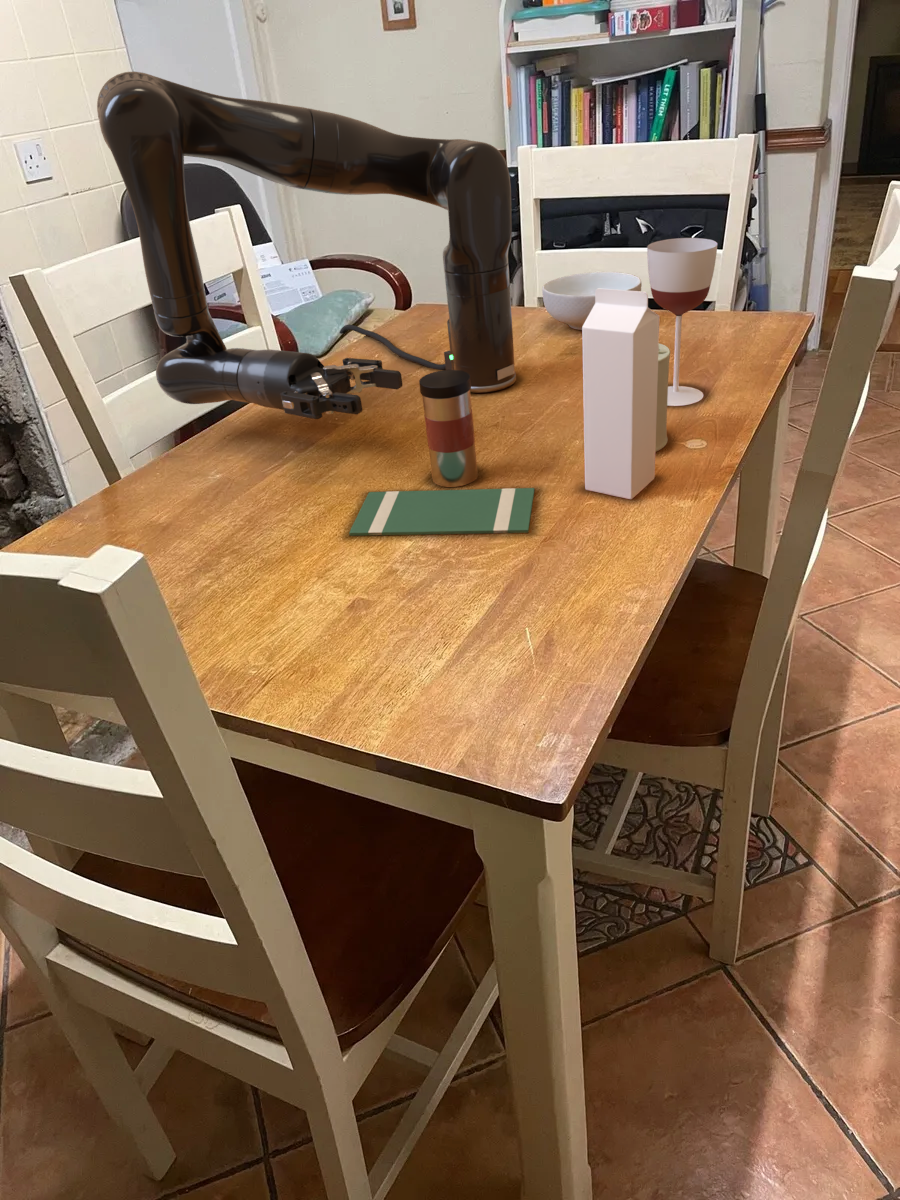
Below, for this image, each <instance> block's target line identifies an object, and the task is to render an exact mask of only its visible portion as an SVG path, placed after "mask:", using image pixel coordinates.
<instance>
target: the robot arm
mask: <svg viewBox="0 0 900 1200" xmlns="http://www.w3.org/2000/svg"><path fill="white" fill-rule="evenodd" d="M96 102H97V103H96V111H97V112H96V113H97V117H98V123H99V128H100V131H101V134H102V138H103V141H104V142H105V144H106V146H107V147H108V148H109V151H110V152H111V155H112V157H113V159H114V161H115V164H116V166H117V169H118V171H119V174H120V176H121V179H122V181H123V183H124V185H125V189H126V191H127V194H128V197H129V201H130V203H131V206H132V209H133V213H134V217H135V221H136V224H137V229H138V235H139V241H140V247H141V249H140V250H141V256H142V261H143V267H144V272H145V278H146V283H147V287H148V288H147V289H148V292H149V296H150V301H151V304H152V308H153V314H154V318H155V320H156V323H157V325H158V328H159V329H160V331H162V332H163V333H164V334H166V335H169V336H171V337H179V338H181V337H182V338H183V337H185V339H186V342H185V343H184V344H182V345H180V346H178V347H177V348H175V349H173V350H171V351H169V352H168V353H166V354H165V355H164V356H163V357H161V359H160V360H159V361H158V362H157V365H156V369H155V377H156V381H157V384H158V386H159V387H160V389H161V390H162V391H163V393H164V394H166V395H167V396H168V397H169V398H171V399H172V400H174V401H176V402H179V403H182V404H186V405H187V404H188V405H201V404H202V405H203V404H213V403H214V404H215V403H220V402H225V401H235V402H241V403H246V404H247V403H249V404H254V405H258V406H260V407H265V408H269V409H276V410H283V412H284V414H286V415H291V416H296V417H297V416H298V417H301V418H302V417H303V418H308V419H313V420H318V419H319V420H320V419H321V418H323V414H327V415H333V414H334V413H343V414H350V415H356V416H357V415H359V414H361V413H362V412H363V404H362V398H361V397H360V395H358V394H361V392H363V390H364V389H368V388H382V389H390V390H400V389H401V388H402V387H403V385H404V384H403V376H402V373H401V372H400V370H394V369H384V368H383V361H382V360H380V359H367V358H356V357H355V358H353V357H345V358H343V359H342V365H336V364H330V365H324V364H323V363H322V362H321V361H320V360H319V358H318V357H316V356H315V355H314V354H312V353H308V352H307V353H306V352H300V351H290V350H282V349H281V350H279V349H250V348H241V347H232V348H231V347H230V348H227V346H226V344H225V342H224V340H223V338H222V337H221V333H220V332H219V329H218V328H217V325H216V324H215V322H214V319H213V318H212V316H211V314H210V311H209V305H208V300H207V295H206V290H205V284H204V279H203V275H202V270H201V265H200V261H199V257H198V252H197V249H196V244H195V241H194V235H193V233H192V228H191V223H190V218H189V217H190V216H189V211H188V210H189V209H188V203H187V194H186V183H185V179H186V178H185V157H190V158H199V159H206V160H207V159H208V160H213V161H217V162H221V163H225V164H228V165H230V166H233V167H234V168H238V169H240V170H243V171H245V172H248V173H250V174H252V175H255V176H258V177H260V178H262V179H265V180H268V181H270V182H273V183H275V184H278V185H282V186H286V187H288V188H289V187H290V188H294V189H298V190H304V191H305V190H306V191H312V192H317V193H324V194H332V195H343V196H344V195H347V196H364V195H365V196H367V195H395V196H400V197H404V198H408V199H412V200H416V201H420V202H422V203H426V204H430V205H433V206H436V207H439V208H441V209H444V210H447V214H448V230H449V239H448V243H447V245H446V246H445V247H444V248H443V251H442V263H443V272H444V282H445V291H446V301H447V311H448V318H447V321H446V325H447V337H448V345H449V350H446V351H443V355H444V363H442V364H438V363H435V362H431V361H429V360H427V359H425V358H422V357H419V356H416V355H413V354H410V353H408V352H406V351H404V350H402V349H400V348H398V347H397V346H395V345H394V344H393V343H392V342H391V341H389V339H387V338H386V337H384V336H382V335H381V334H378V333H376V332H374V331H371V330H368V329H365V328H362V327H360V326H357V325H355V324H345V325H344V326H342V327H341V328H340V330H339V334H341V335H343V334H346V332H347V331H353V332H356V333H358V334H360V335H363V336H368V337H370V338H373V339H375V340H376V341H378V342H381V343H382V344H383V345H384V346H385V347H387V349H389V350H390V351H391V352H392V353H393V354H395V355H397V356H399V357H401V358H402V359H405V360H407V361H410V362H413V363H416V364H419V365H421V366H423V367H426V368H429V369H434V370H438V371H443V370H459V371H464V372H467V373H468V374H469V375H470V381H471V389H470V393H476V394H479V393H480V394H481V393H492V392H497V391H501V390H504V389H507V388H509V387H511V386H513V384H515V382H516V381H517V375H516V374H517V373H516V369H515V367H516V366H515V350H514V334H513V333H514V331H513V315H512V301H511V299H512V298H511V284H510V269H509V250H510V246H511V242H512V236H513V235H512V234H513V224H512V221H513V220H512V187H511V176H510V171H509V167H508V164H507V161H506V159H505V157H504V156H503V154H502V152H501V151H500V150H499V149H498V148H496V147H495V146H493V145H492V144H490V143H487V142H483V141H478V140H471V139H463V138H453V139H452V138H451V139H447V138H445V139H444V138H428V137H417V136H408V135H402V134H398V133H393V132H391V131H388V130H385V129H384V128H381V127H378V126H376V125H374V124H370V123H367V122H365V121H362V120H359V119H356V118H353V117H349V116H345V115H342V114H338V113H334V112H329V111H324V110H320V109H314V108H309V107H308V108H307V107H304V106H297V105H290V104H283V103H277V102H271V101H264V100H256V99H248V98H247V99H246V98H238V97H237V98H236V97H230V96H223V95H219V94H214V93H210V92H206V91H203V90H200V89H198V88H197V89H196V88H194V87H190V86H187V85H183V84H179V83H176V82H174V81H170V80H168V79H164V78H162V77H159V76H156V75H152V74H149V73H146V72H140V71H124V72H121V73H118V74H116V75H114V76H112V77H110V78H109V79H107V81H106V82H105V83H104V84H103V85H102V87H101V88H100V91H99V93H98V97H97V101H96ZM351 381H354V384H355V385H353V386H351Z"/></svg>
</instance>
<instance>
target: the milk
mask: <svg viewBox="0 0 900 1200" xmlns="http://www.w3.org/2000/svg"><path fill="white" fill-rule="evenodd" d="M660 318H661V317H660V315H659V314H658V313H656V312H655V311H653V310H652V309H651V308H650V307H649V294H648V292H647V291H642V290H641V291H628V290H615V289H601V288H598V289H596V291H595V305H594V306H593V308H592V310H591V312H590V314H589V315H588V317H587V319H586V321H585V323H584V325H583V327H582V330H581V334H582V335H581V339H582V340H581V341H582V342H581V343H582V391H583V392H582V393H583V394H582V395H583V396H582V397H583V399H582V400H583V441H584V442H583V445H584V446H583V448H584V450H583V451H584V452H583V453H584V489H585V491H590V492H595V493H600V494H604V495H609V496H611V497H612V496H613V497H618V498H622V499H627V500H633V499H634V498H635V497H636V496H637V495H638V494H639V493H640V492H641V491H643V490H644V489H645V488H646V487H647V486H648V485H649V484H650V483H652V481H654V480H655V477H656V452H655V449H656V417H657V384H658V351H659V343H660Z"/></svg>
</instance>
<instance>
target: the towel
mask: <svg viewBox="0 0 900 1200" xmlns="http://www.w3.org/2000/svg"><path fill="white" fill-rule="evenodd" d="M535 489H536V488H535V487H522V488H521V487H519V488H516V487H513V488H512V487H510V488H509V487H508V488H505V487H504V488H478V489H477V488H476V489H473V488H471V489H438V490H437V489H436V490H435V489H433V490H395V491H393V490H389V491H368V493H367V495H366V497H365V499H364V501H363V503H362V506H361V507H360V508H359V509H360V510H359V512H358V514H357V515H356V518H355V519H354V521H353V523H352V526H351V528H350V529H349V532H348V534H349V537H356V536H361V537H362V536H363V537H365V536H416V535H417V536H418V535H419V536H420V535H421V536H423V535H424V536H427V535H476V534H477V535H482V534H484V535H486V534H488V535H489V534H490V535H491V534H529V531H530V524H531V517H532V510H533V503H534V497H535V492H536V491H535Z"/></svg>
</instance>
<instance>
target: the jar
mask: <svg viewBox="0 0 900 1200" xmlns="http://www.w3.org/2000/svg"><path fill="white" fill-rule="evenodd" d="M418 381H419V382H418V383H419V384H418V385H419V392H420V395H421V397H422V405H423V414H424V424H425V431H426V439H427V446H428V454H429V463H430V469H431V470H430V471H431V479H432V481H433V483H434V484H436V485H437V486H439V487H444V488H457V487H462V486H466V485H469V484H471V483H473V482H474V481H476V480H477V478H478V475H479V473H478V472H479V471H478V462H477V452H476V451H477V449H476V437H475V428H474V427H475V426H474V416H473V415H474V413H473V408H472V396H471V392H470V389H471V381H470V375H469V374H468V373H467V372H464V371H459V370H436V371H433V372H431V373H430V372H429V373H427V374H425V375H423V376H421V378H420V379H419V380H418Z"/></svg>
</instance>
